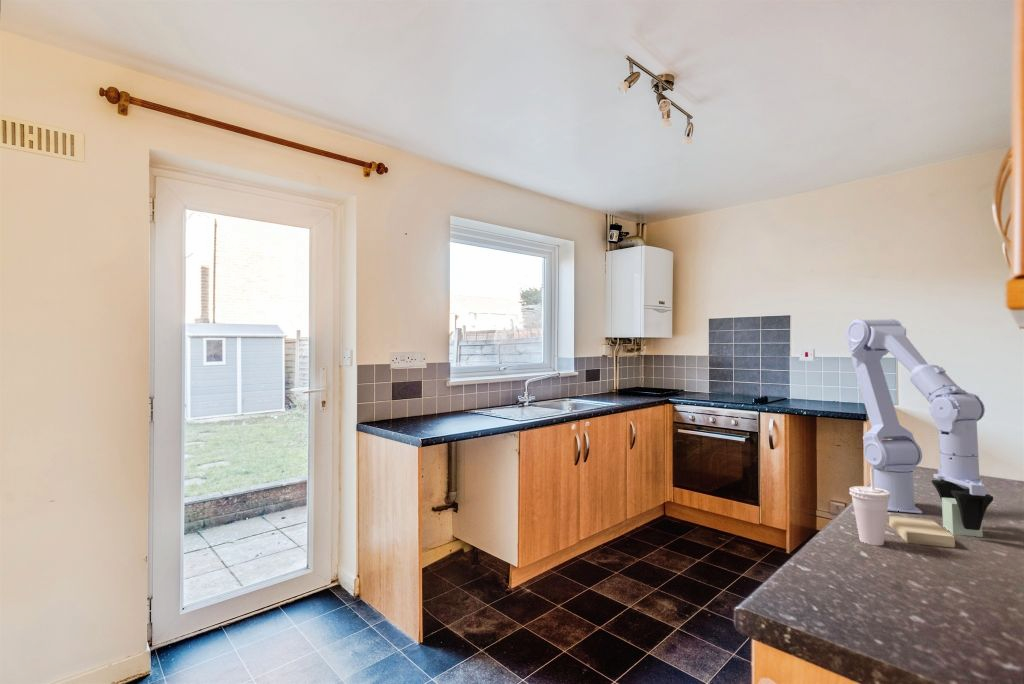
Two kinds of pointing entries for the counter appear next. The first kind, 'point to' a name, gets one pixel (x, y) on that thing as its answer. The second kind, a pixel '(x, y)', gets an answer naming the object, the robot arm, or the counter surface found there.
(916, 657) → the counter surface
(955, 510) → the sage block
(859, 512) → the smoothie
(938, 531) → the oak slab
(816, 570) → the counter surface
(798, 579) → the counter surface
